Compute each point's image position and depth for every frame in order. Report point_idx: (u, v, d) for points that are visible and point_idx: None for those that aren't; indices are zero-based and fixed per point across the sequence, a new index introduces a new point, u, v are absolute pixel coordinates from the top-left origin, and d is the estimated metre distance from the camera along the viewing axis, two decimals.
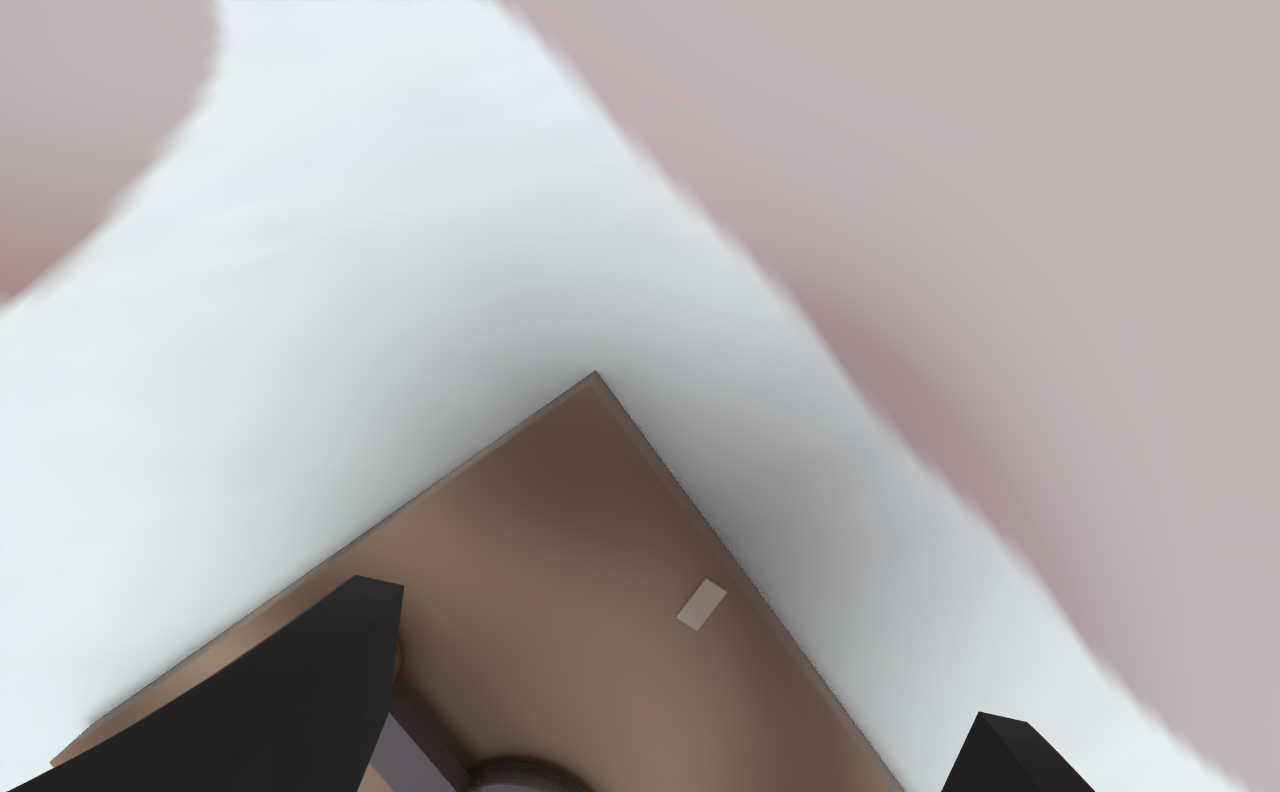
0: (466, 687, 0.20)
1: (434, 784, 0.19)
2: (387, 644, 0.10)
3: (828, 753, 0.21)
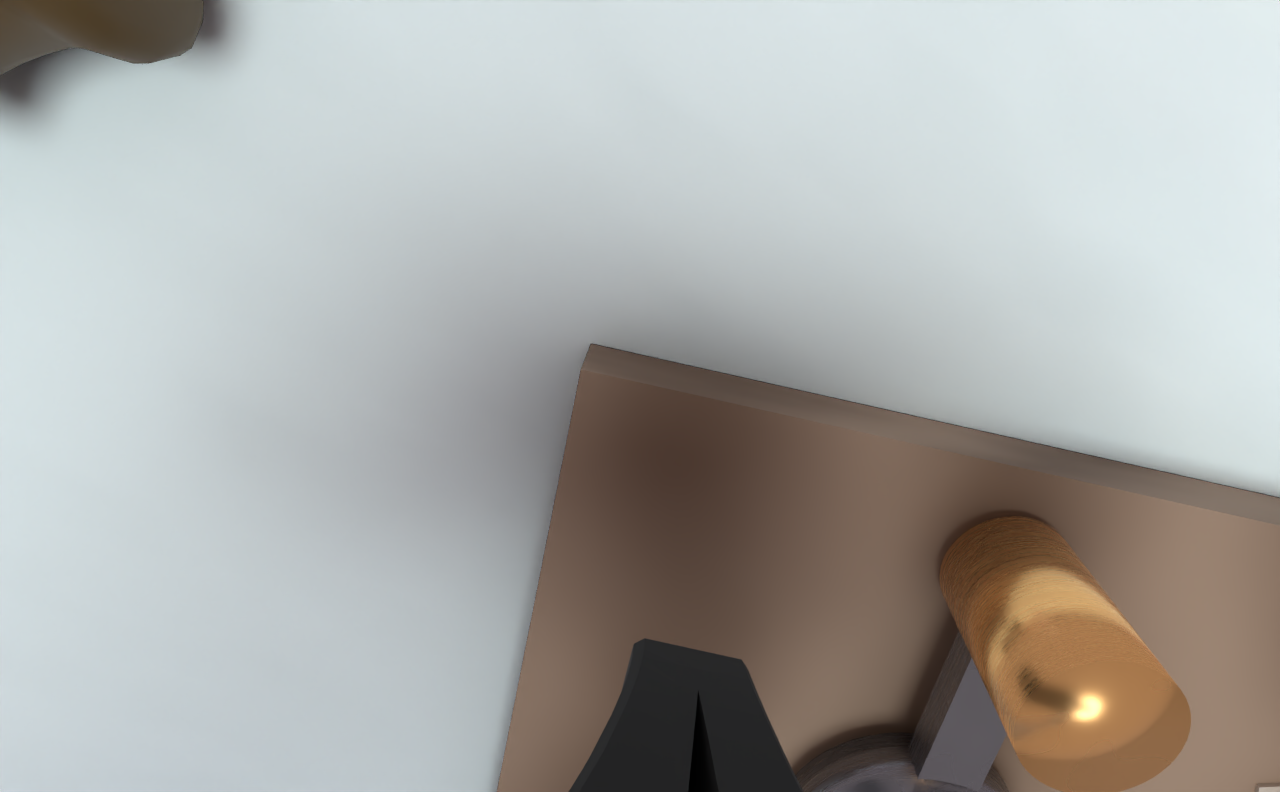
0: None
1: (976, 760, 0.16)
2: None
3: None
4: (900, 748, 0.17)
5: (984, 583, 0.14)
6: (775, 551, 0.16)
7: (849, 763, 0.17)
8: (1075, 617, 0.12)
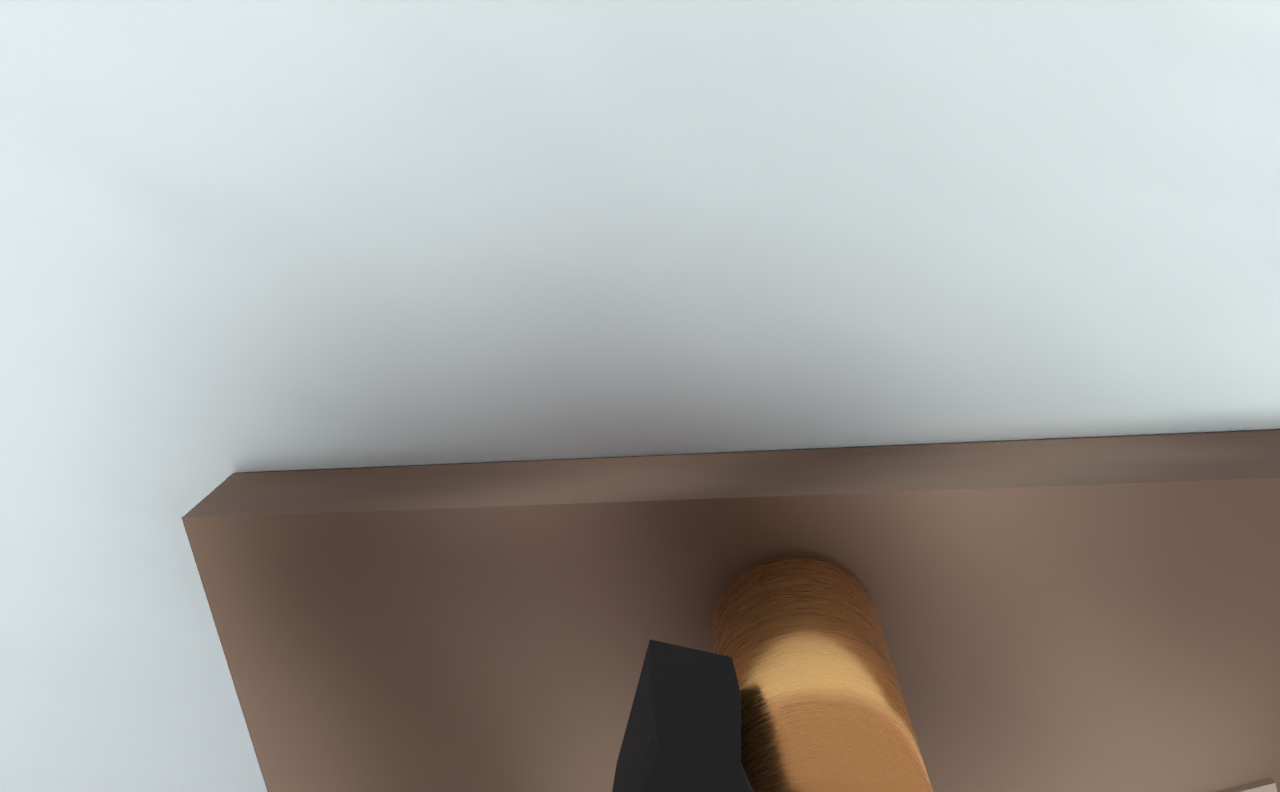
0: None
1: None
2: None
3: None
4: None
5: None
6: (487, 661, 0.13)
7: None
8: (793, 710, 0.09)
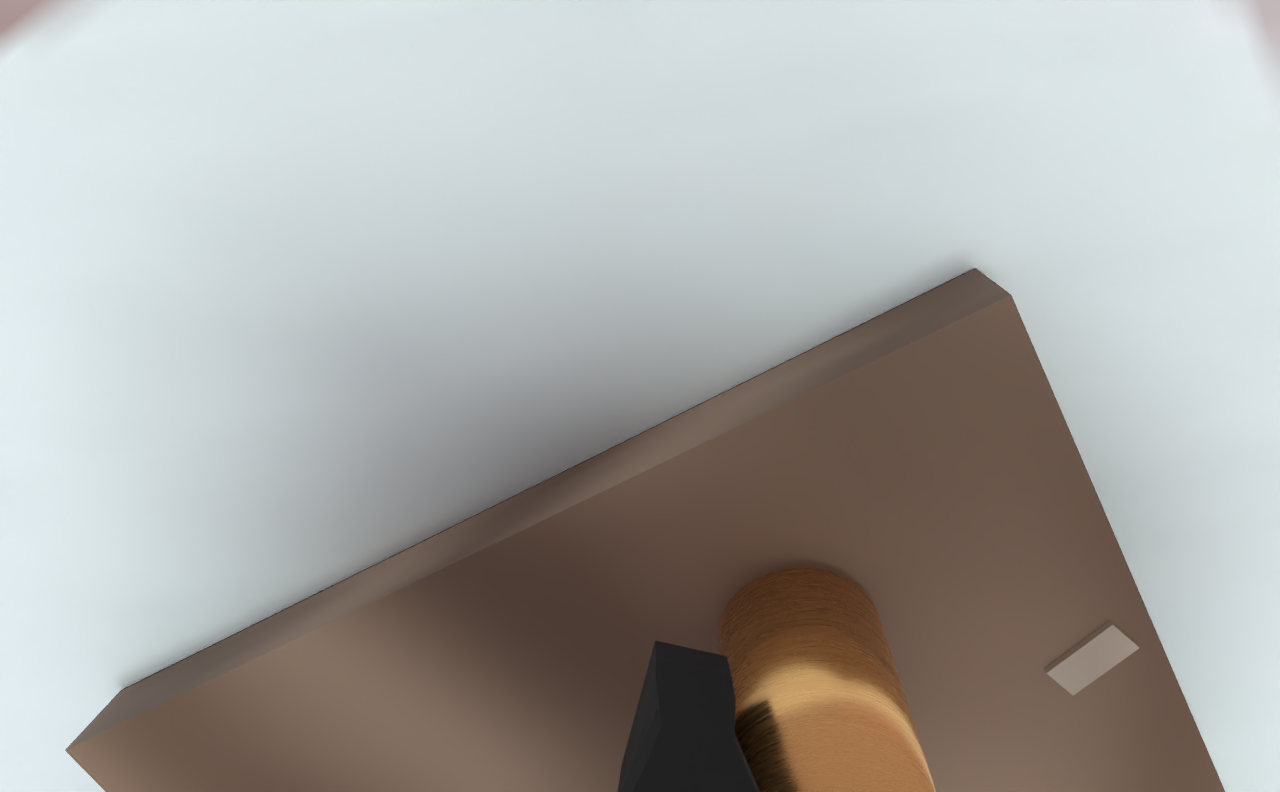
0: None
1: None
2: None
3: None
4: None
5: (736, 665, 0.11)
6: (354, 777, 0.14)
7: None
8: (812, 721, 0.09)
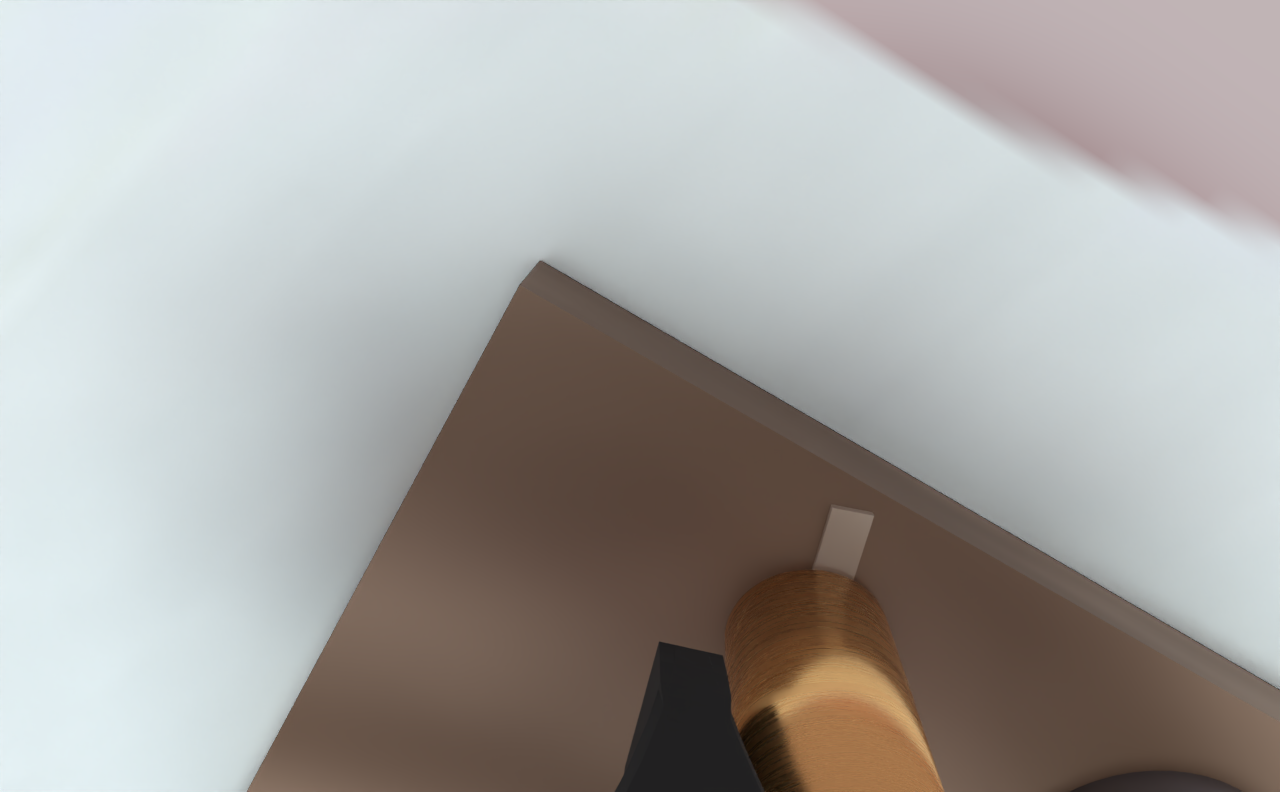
0: (561, 765, 0.14)
1: None
2: None
3: (1129, 686, 0.13)
4: None
5: (745, 665, 0.11)
6: None
7: None
8: (823, 723, 0.09)
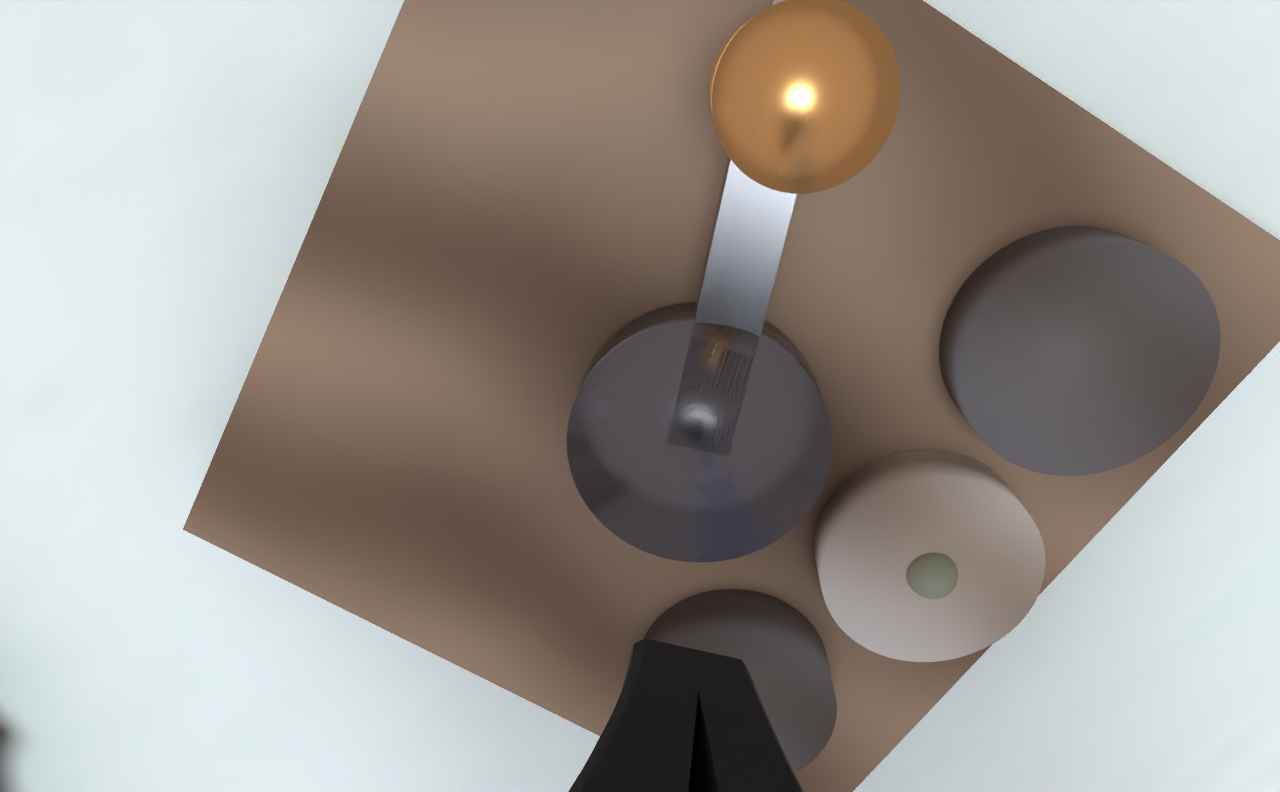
0: (556, 249, 0.16)
1: (752, 294, 0.15)
2: None
3: (1041, 134, 0.15)
4: (686, 311, 0.16)
5: (726, 42, 0.13)
6: (367, 440, 0.18)
7: (632, 329, 0.16)
8: None
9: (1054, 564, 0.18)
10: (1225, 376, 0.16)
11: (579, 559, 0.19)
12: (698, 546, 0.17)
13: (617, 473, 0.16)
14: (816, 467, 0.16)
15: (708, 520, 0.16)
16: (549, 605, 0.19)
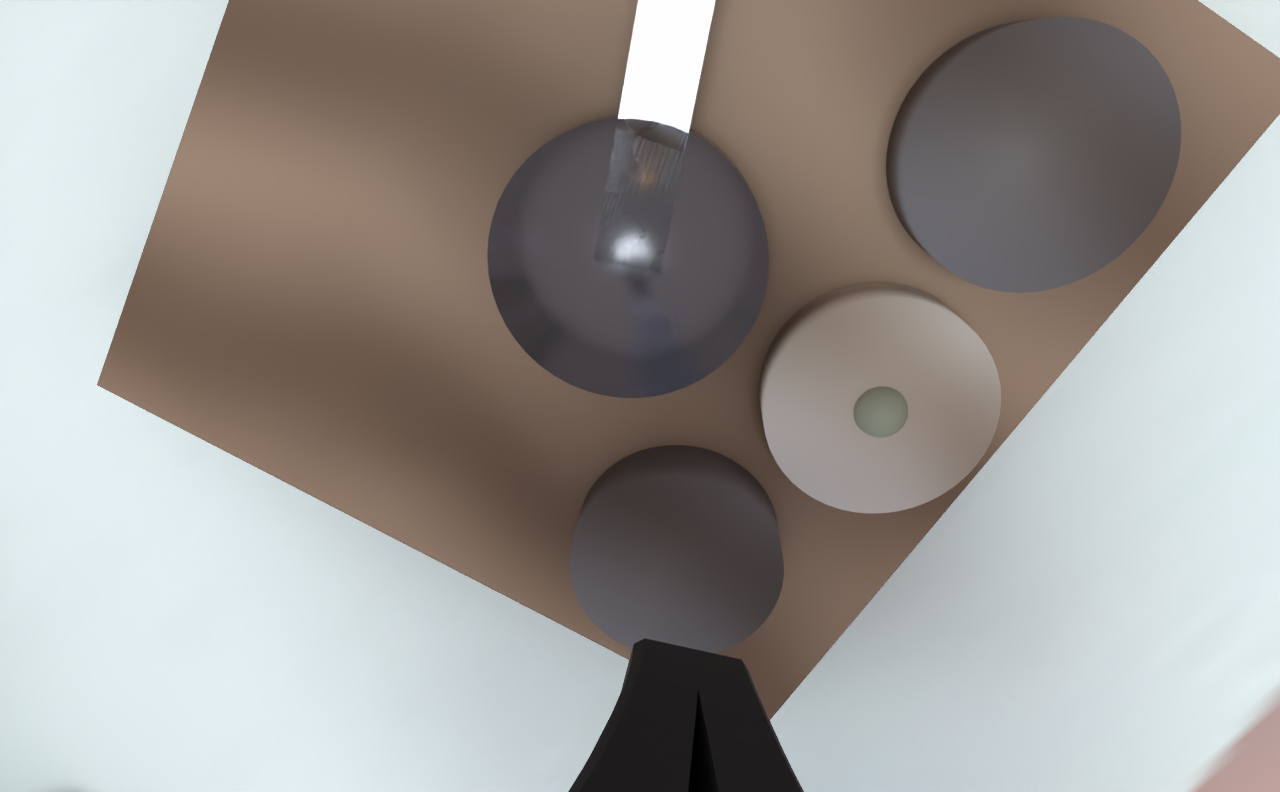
0: (477, 58, 0.15)
1: (679, 83, 0.14)
2: None
3: None
4: (613, 116, 0.15)
5: None
6: (286, 280, 0.17)
7: None
8: None
9: (1014, 412, 0.17)
10: (1191, 193, 0.15)
11: (513, 413, 0.18)
12: (631, 379, 0.16)
13: (542, 295, 0.15)
14: (753, 285, 0.15)
15: (640, 349, 0.15)
16: (483, 467, 0.18)
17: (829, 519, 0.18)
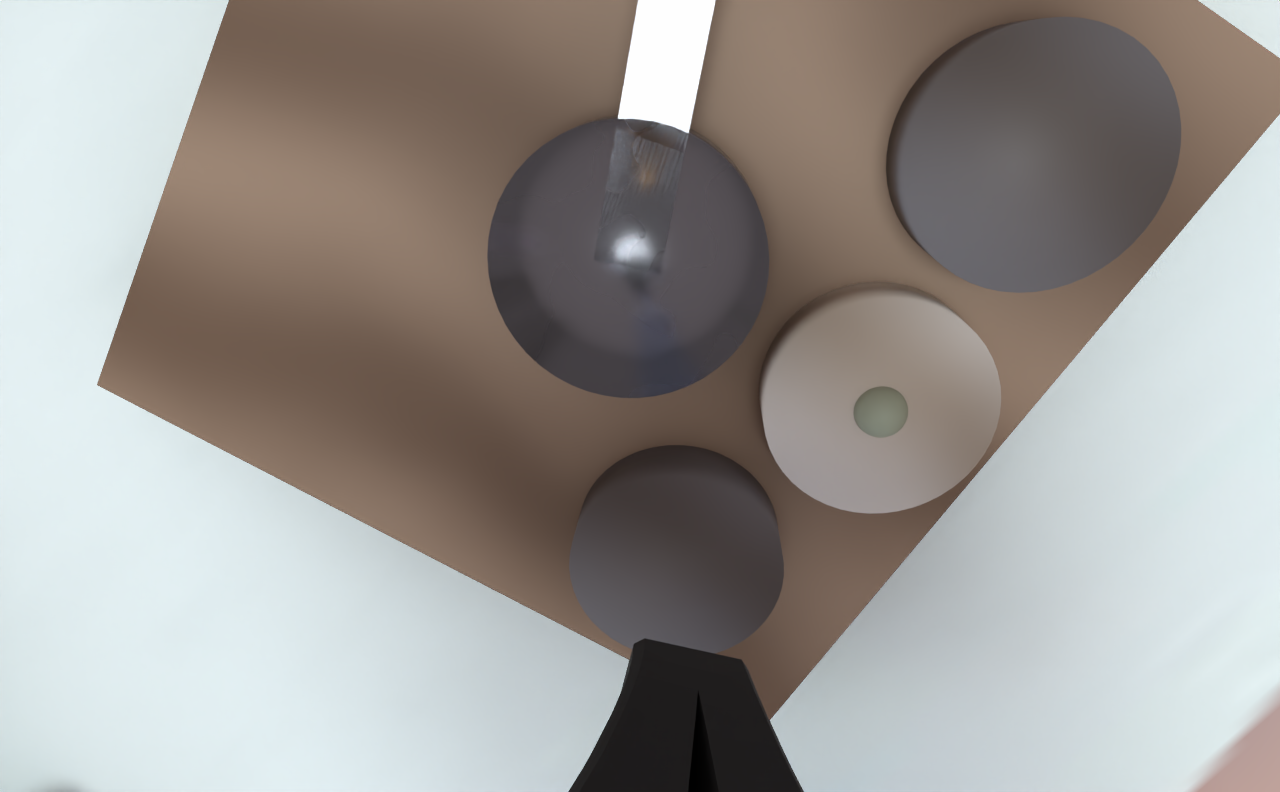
0: (477, 58, 0.15)
1: (679, 83, 0.14)
2: None
3: None
4: (613, 116, 0.15)
5: None
6: (286, 280, 0.17)
7: None
8: None
9: (1014, 412, 0.17)
10: (1191, 193, 0.15)
11: (513, 413, 0.18)
12: (631, 379, 0.16)
13: (542, 295, 0.15)
14: (753, 285, 0.15)
15: (640, 349, 0.15)
16: (483, 467, 0.18)
17: (829, 519, 0.18)
